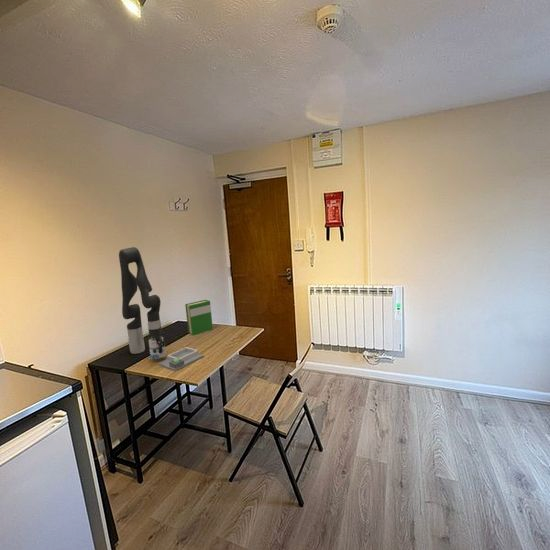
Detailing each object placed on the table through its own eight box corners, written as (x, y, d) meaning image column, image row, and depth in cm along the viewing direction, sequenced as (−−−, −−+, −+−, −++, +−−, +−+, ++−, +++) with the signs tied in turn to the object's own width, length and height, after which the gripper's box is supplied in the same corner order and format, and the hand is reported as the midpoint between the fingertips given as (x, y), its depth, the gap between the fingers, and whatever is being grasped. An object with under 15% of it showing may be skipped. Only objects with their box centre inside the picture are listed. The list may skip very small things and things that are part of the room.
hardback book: (192, 335, 235) (189, 305, 231) (188, 333, 240) (185, 304, 236) (212, 329, 246) (210, 301, 242) (208, 327, 251) (205, 299, 247)
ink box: (152, 359, 189) (150, 342, 187) (150, 357, 193) (148, 339, 191) (166, 355, 194) (164, 338, 192) (163, 353, 198) (161, 336, 196)
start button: (172, 365, 182) (172, 359, 181) (177, 362, 184) (176, 357, 184) (176, 366, 180) (175, 360, 179) (180, 364, 182) (180, 358, 182)
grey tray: (157, 365, 187) (157, 358, 186) (186, 351, 204) (186, 346, 204) (175, 371, 177) (174, 365, 176) (203, 356, 195) (203, 351, 194)
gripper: (142, 326, 191) (145, 351, 194) (156, 330, 183) (159, 356, 186) (153, 323, 197) (156, 347, 200) (166, 326, 189) (169, 351, 192)
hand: (157, 351), depth 193 cm, fingers closed on ink box, 6 cm apart
